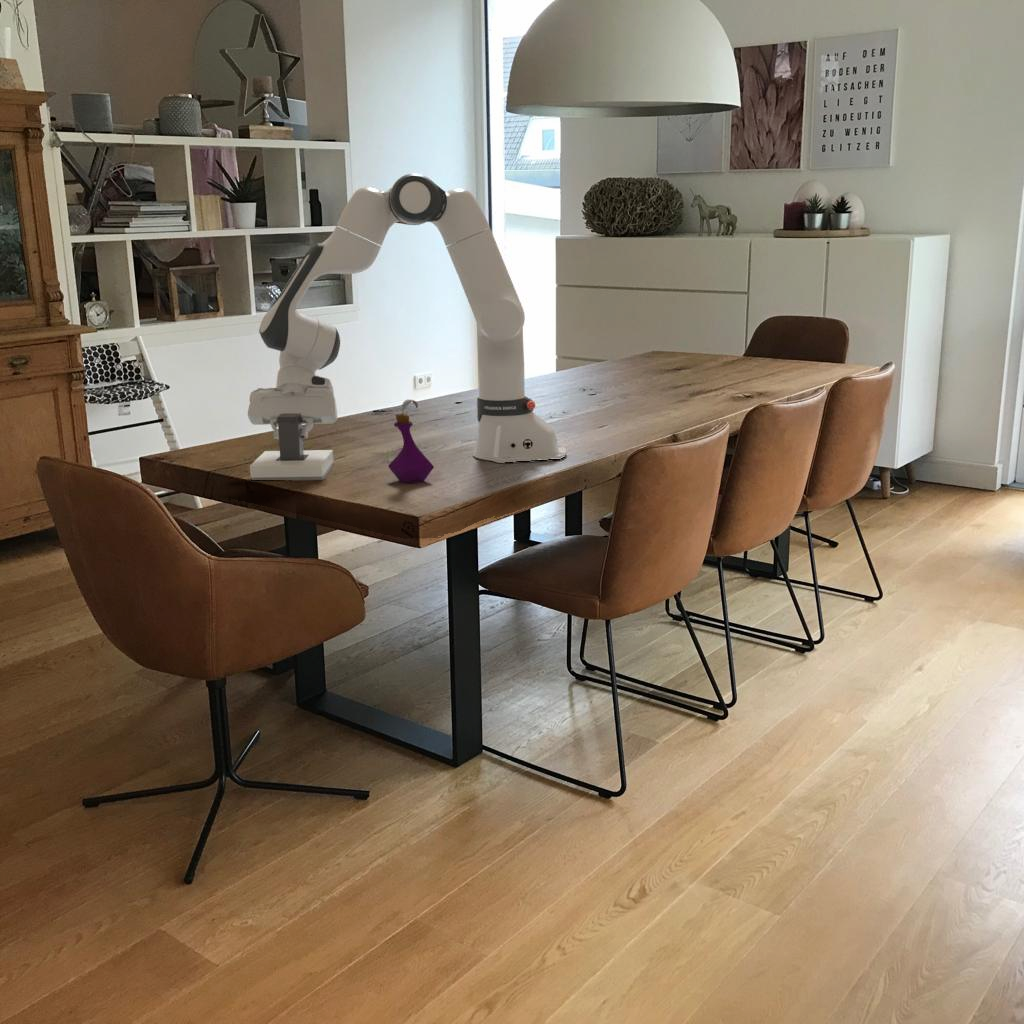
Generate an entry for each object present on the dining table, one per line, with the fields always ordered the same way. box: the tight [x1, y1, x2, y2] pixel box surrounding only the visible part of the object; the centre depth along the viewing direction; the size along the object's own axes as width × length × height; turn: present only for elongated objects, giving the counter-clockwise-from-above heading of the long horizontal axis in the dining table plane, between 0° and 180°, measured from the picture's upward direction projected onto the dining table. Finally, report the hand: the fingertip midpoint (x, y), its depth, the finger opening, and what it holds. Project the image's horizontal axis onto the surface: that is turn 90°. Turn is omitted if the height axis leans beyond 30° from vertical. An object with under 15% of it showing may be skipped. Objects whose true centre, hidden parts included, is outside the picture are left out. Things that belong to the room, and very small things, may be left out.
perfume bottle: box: [387, 399, 435, 484], centre depth 250 cm, size 8×8×18 cm
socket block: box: [249, 449, 334, 482], centre depth 261 cm, size 16×16×4 cm
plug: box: [277, 413, 304, 461], centre depth 260 cm, size 4×4×11 cm
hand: (290, 437), depth 259 cm, fingers closed on plug, 4 cm apart
